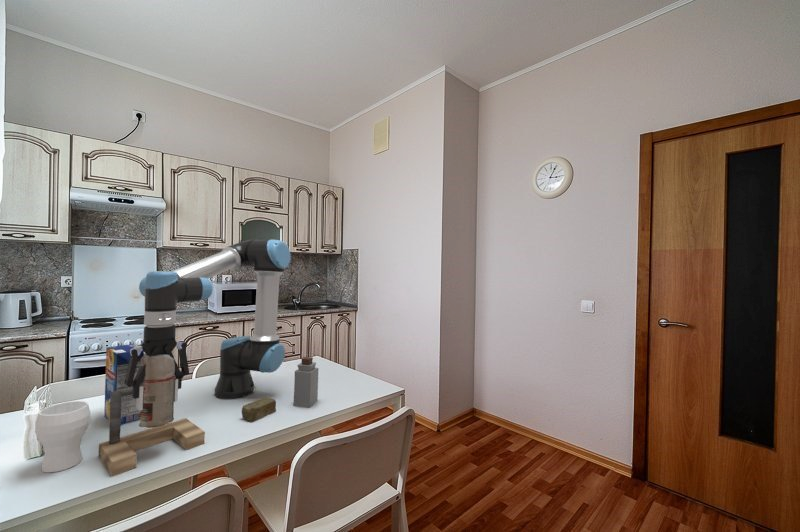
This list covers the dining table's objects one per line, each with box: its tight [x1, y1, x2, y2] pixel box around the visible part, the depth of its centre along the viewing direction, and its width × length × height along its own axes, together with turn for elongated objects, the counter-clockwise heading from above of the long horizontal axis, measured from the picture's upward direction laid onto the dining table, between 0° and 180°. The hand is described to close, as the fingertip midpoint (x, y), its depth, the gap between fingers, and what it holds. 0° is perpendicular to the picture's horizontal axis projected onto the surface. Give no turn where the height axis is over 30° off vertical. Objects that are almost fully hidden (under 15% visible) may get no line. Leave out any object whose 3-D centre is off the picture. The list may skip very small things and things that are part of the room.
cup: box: [34, 400, 92, 473], centre depth 93 cm, size 11×11×15 cm
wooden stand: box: [98, 390, 206, 477], centre depth 101 cm, size 14×22×18 cm, turn 142°
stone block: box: [241, 396, 277, 422], centre depth 126 cm, size 6×12×5 cm, turn 153°
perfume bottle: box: [293, 356, 319, 409], centre depth 138 cm, size 7×7×18 cm
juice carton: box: [103, 343, 145, 426], centre depth 120 cm, size 12×8×24 cm, turn 53°
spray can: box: [138, 354, 175, 429], centre depth 100 cm, size 8×8×20 cm
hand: (157, 404), depth 100 cm, fingers closed on spray can, 8 cm apart
